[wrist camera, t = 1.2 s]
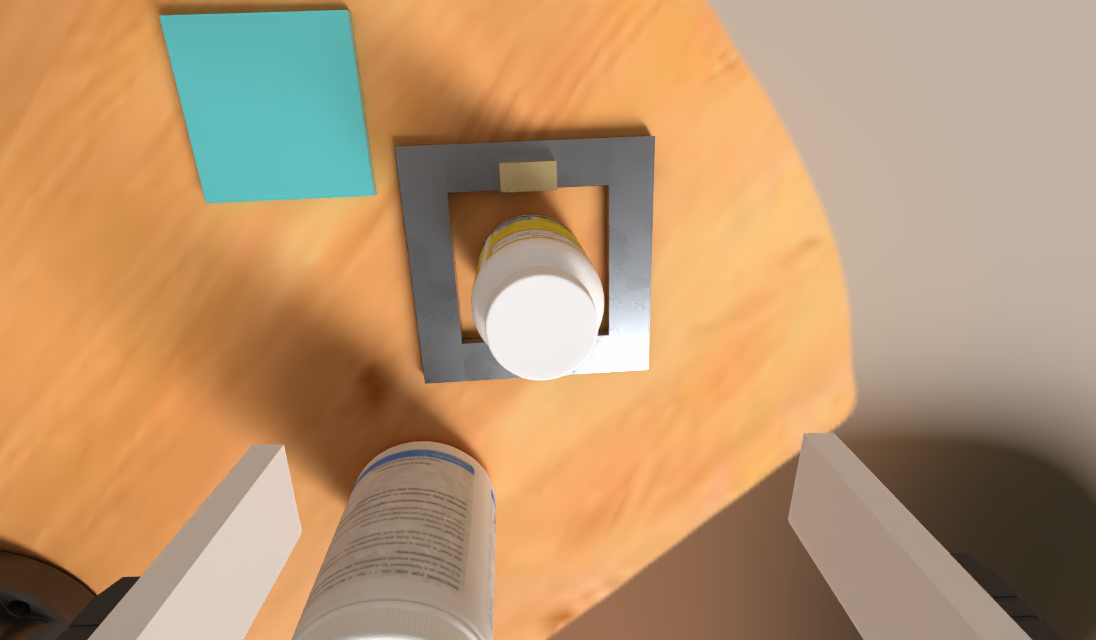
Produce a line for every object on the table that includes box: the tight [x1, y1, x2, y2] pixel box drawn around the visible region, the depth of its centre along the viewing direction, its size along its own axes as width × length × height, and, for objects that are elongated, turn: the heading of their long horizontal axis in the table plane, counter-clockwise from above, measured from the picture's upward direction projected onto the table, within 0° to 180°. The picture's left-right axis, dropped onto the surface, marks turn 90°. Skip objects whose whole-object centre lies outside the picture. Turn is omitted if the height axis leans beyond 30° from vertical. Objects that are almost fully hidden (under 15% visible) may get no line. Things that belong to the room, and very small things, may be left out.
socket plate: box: [395, 136, 655, 383], centre depth 31 cm, size 14×14×2 cm
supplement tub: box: [292, 441, 496, 640], centre depth 31 cm, size 10×10×15 cm
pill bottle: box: [471, 214, 604, 380], centre depth 27 cm, size 6×6×11 cm
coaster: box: [159, 10, 376, 203], centre depth 28 cm, size 9×9×1 cm
